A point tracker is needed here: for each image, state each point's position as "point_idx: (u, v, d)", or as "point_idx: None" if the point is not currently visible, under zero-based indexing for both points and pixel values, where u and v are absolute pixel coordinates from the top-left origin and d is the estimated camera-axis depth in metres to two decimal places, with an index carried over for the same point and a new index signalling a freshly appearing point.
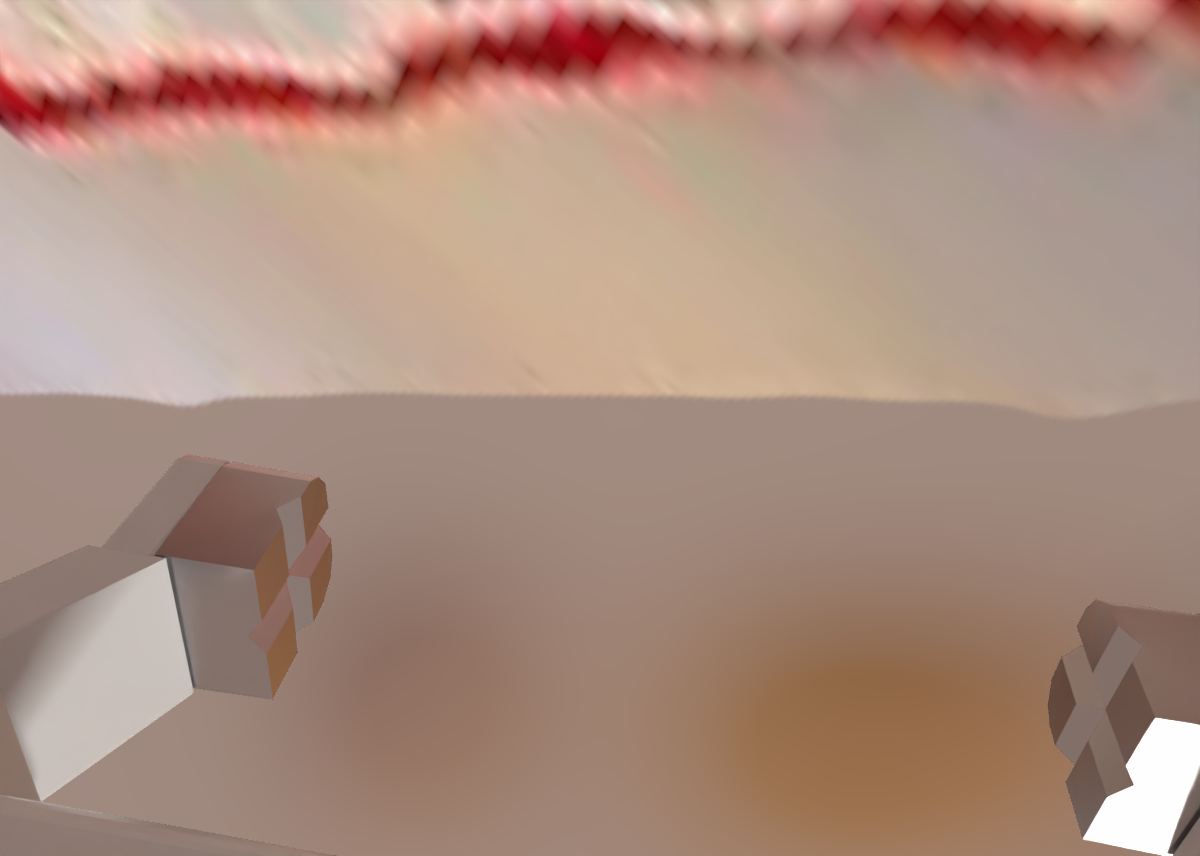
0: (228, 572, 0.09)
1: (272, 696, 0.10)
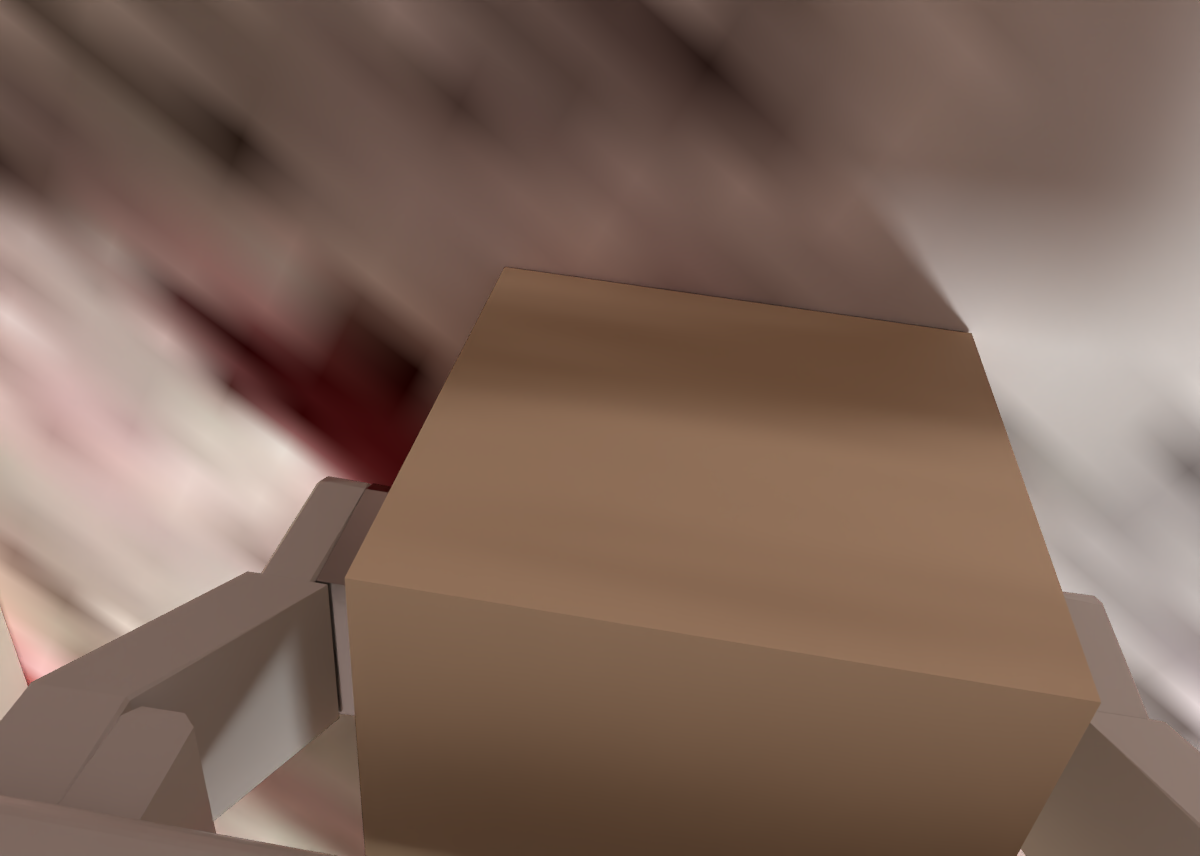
0: None
1: None
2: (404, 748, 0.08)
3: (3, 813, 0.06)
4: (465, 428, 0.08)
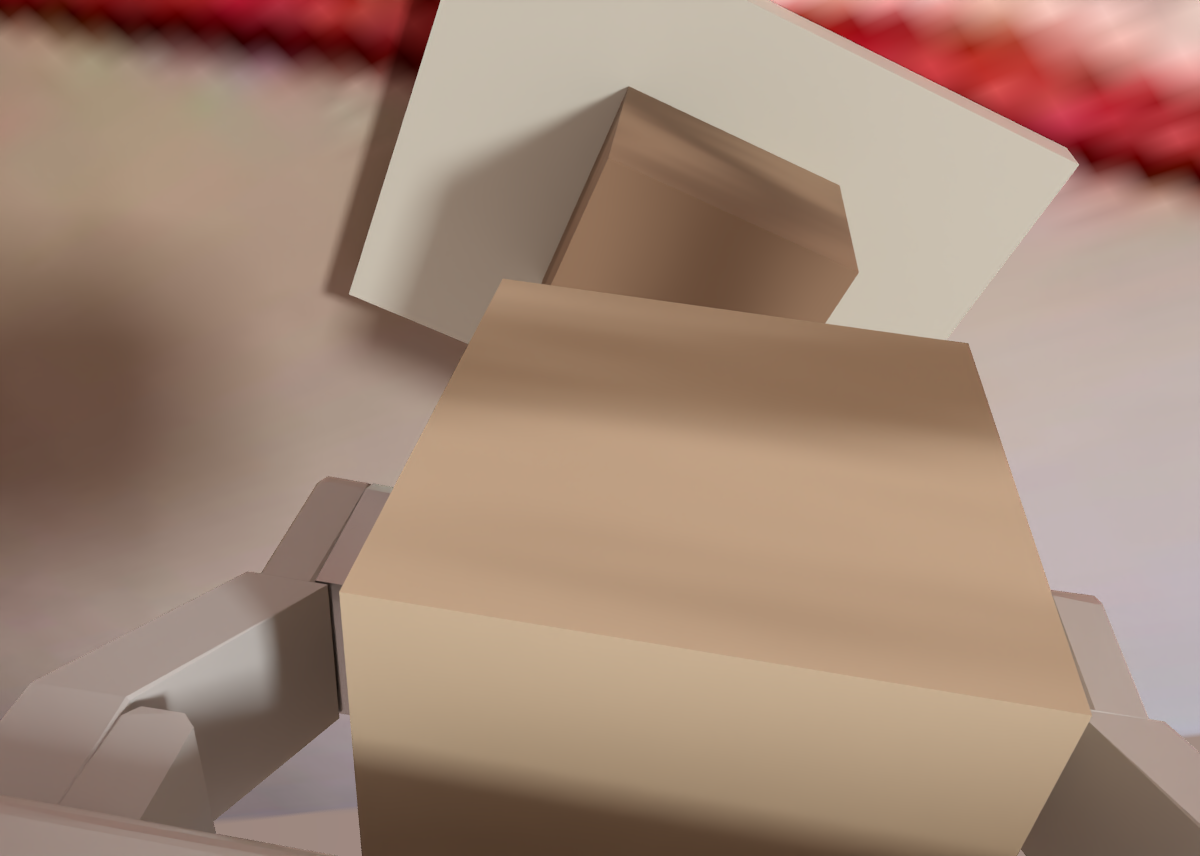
0: None
1: None
2: (400, 760, 0.08)
3: (3, 813, 0.06)
4: (460, 441, 0.08)
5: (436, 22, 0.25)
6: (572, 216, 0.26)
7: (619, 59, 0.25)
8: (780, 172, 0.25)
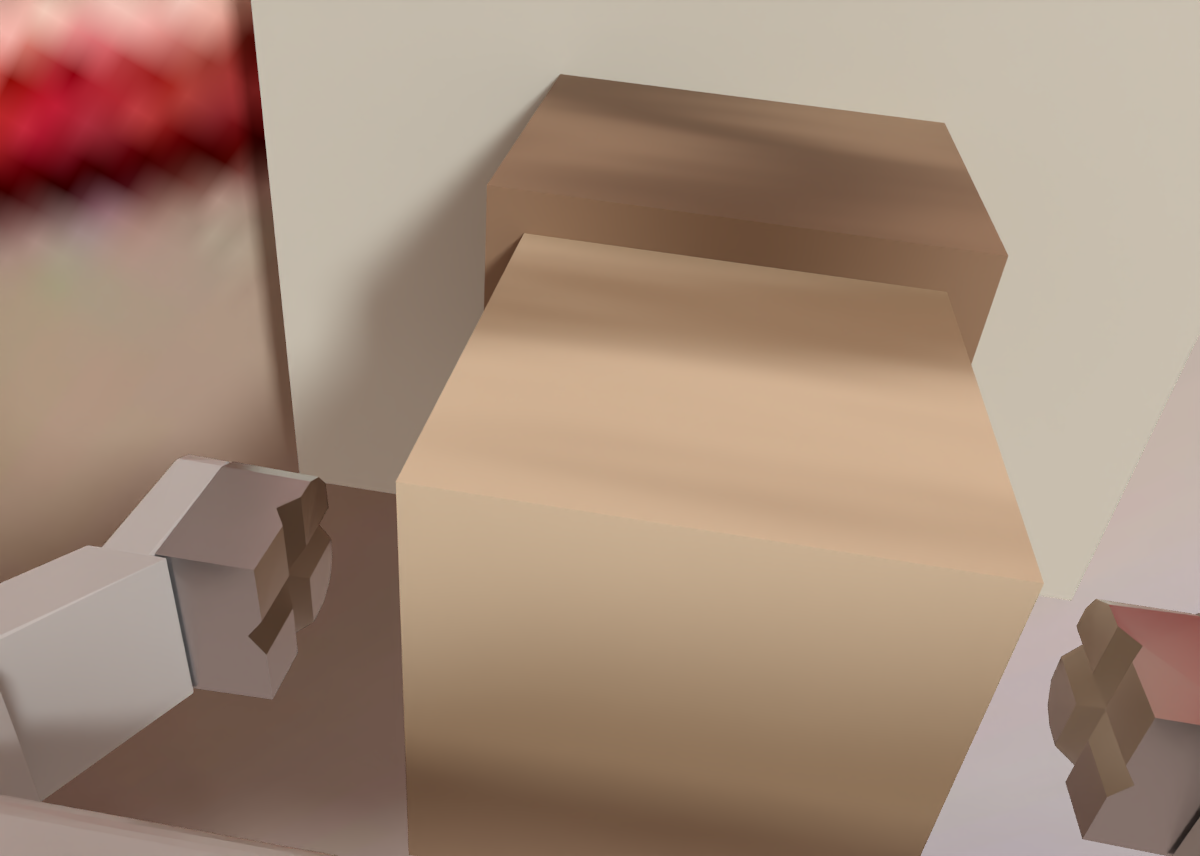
0: (228, 572, 0.09)
1: (272, 696, 0.10)
2: (442, 641, 0.09)
3: (3, 813, 0.06)
4: (493, 366, 0.09)
5: (262, 73, 0.17)
6: None
7: (531, 37, 0.16)
8: (832, 129, 0.15)
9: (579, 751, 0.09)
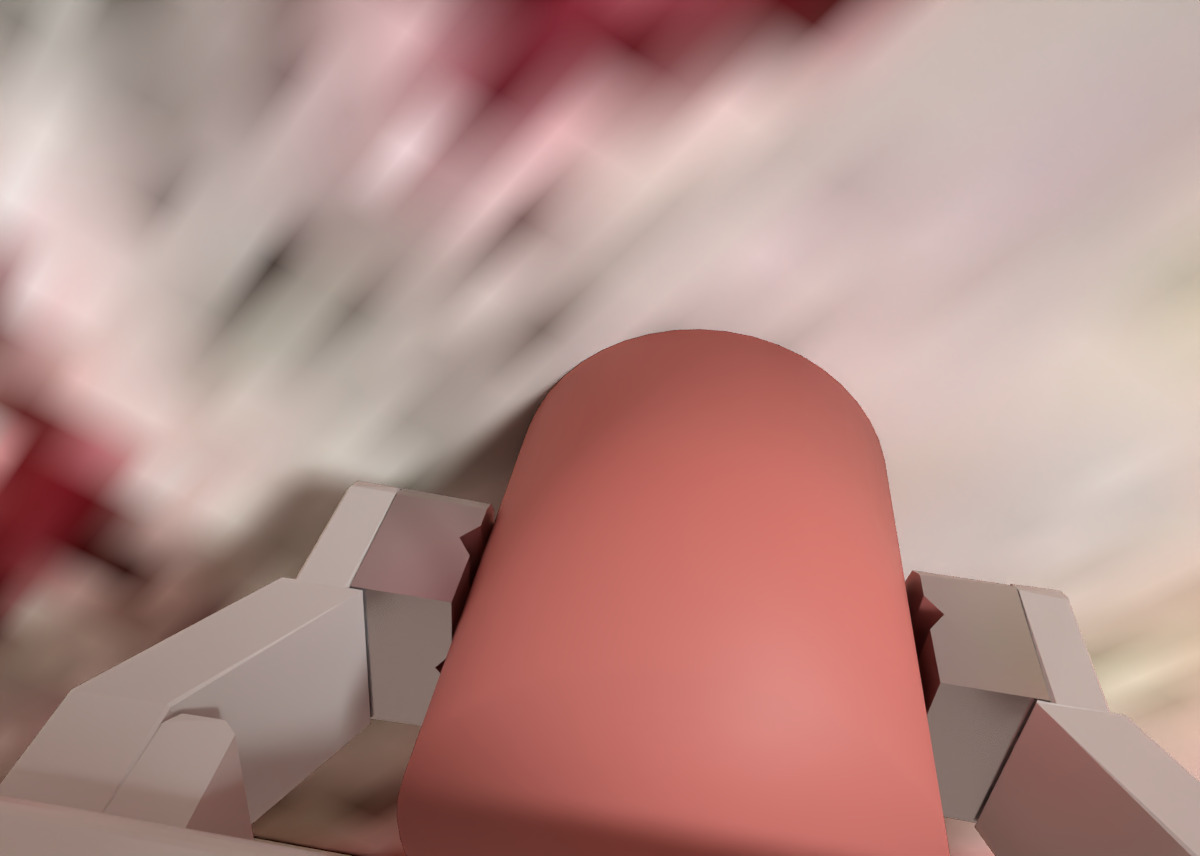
0: (423, 604, 0.09)
1: None
2: None
3: (3, 813, 0.06)
4: None
5: None
6: None
7: None
8: None
9: None
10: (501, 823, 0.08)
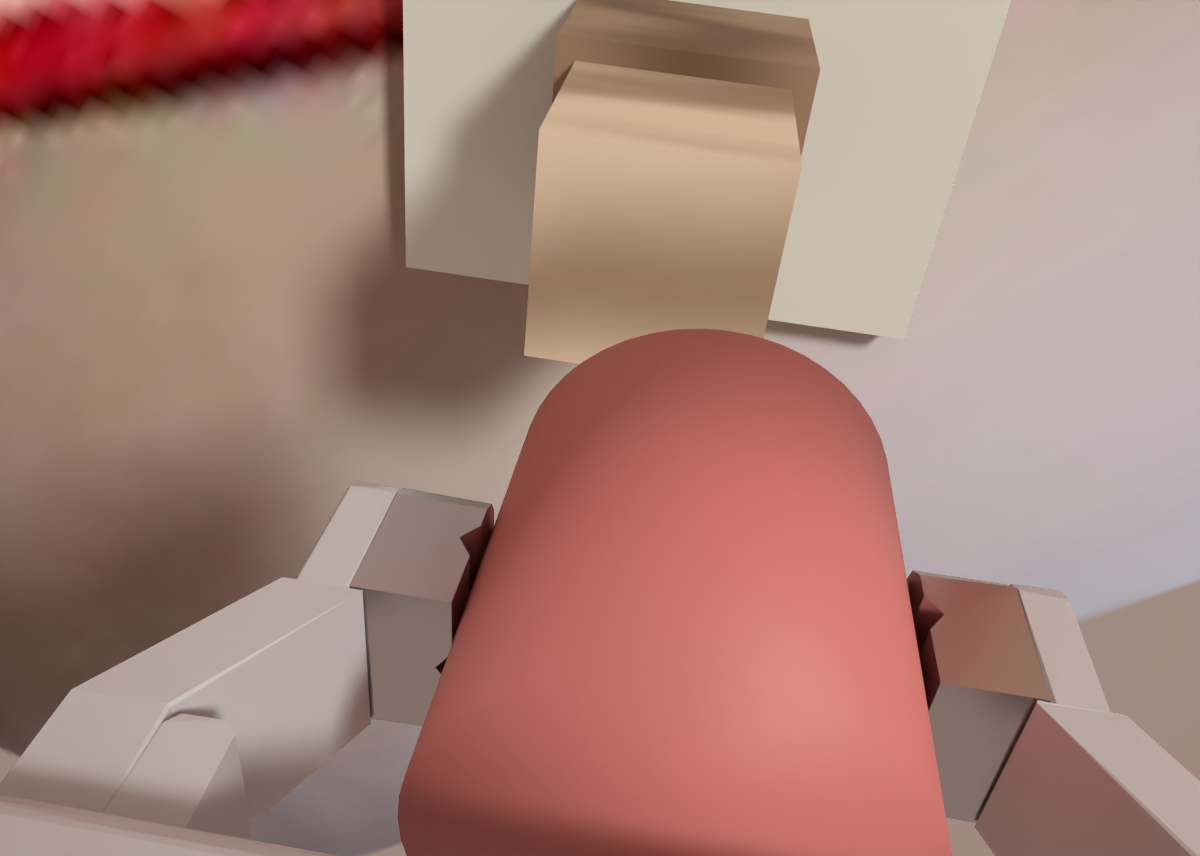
0: (423, 604, 0.09)
1: None
2: (552, 215, 0.20)
3: (3, 813, 0.06)
4: (571, 101, 0.21)
5: None
6: None
7: None
8: (742, 19, 0.26)
9: (610, 277, 0.21)
10: (503, 823, 0.08)
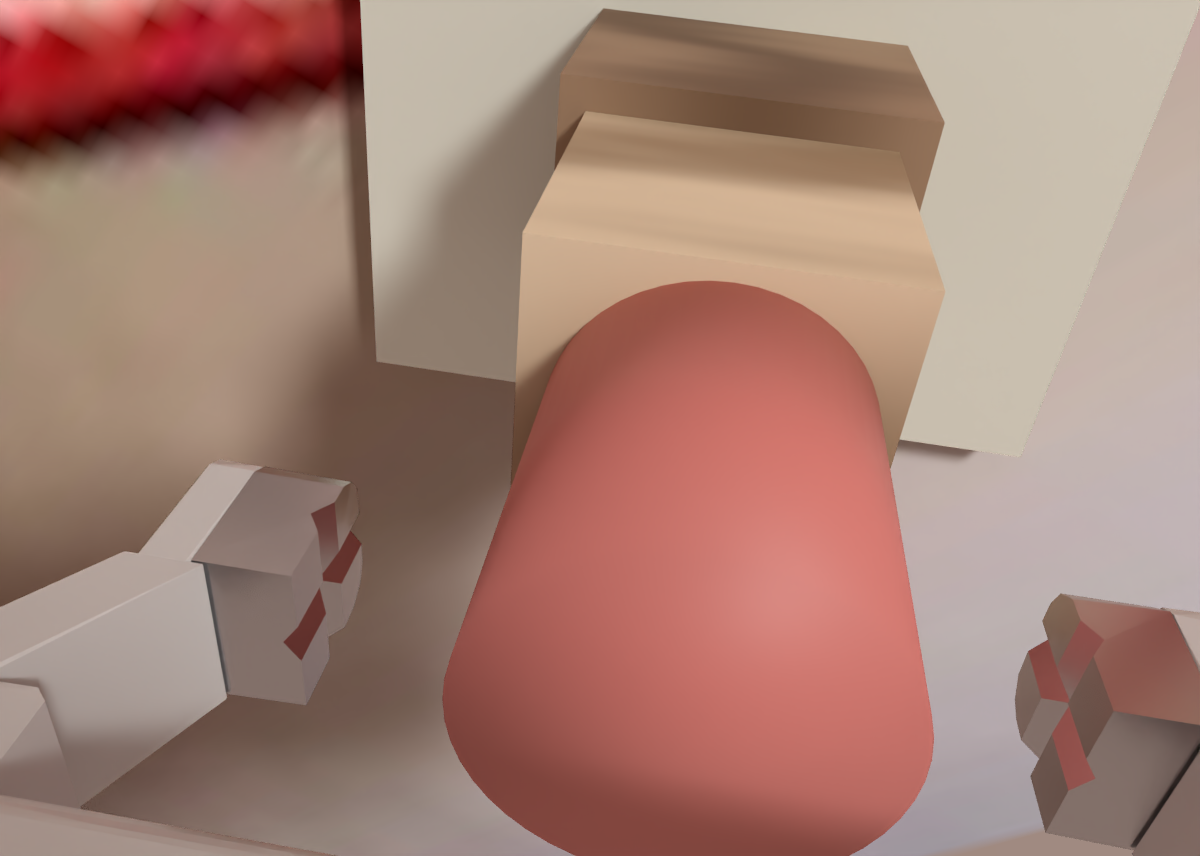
0: (265, 578, 0.09)
1: (306, 702, 0.10)
2: (545, 359, 0.13)
3: (3, 813, 0.06)
4: (577, 180, 0.14)
5: (363, 9, 0.21)
6: None
7: None
8: (819, 47, 0.19)
9: None
10: (535, 702, 0.09)
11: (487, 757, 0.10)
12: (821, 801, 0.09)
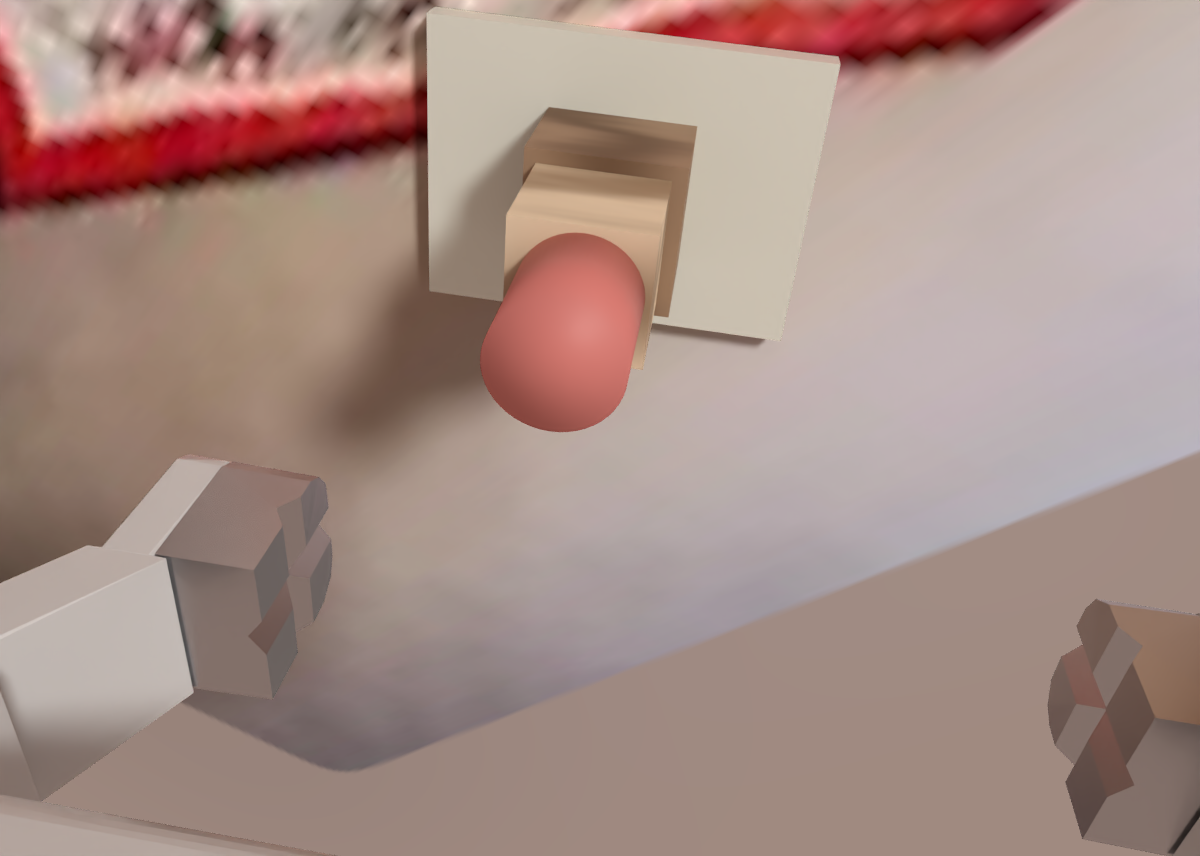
0: (228, 572, 0.09)
1: (272, 696, 0.10)
2: (515, 264, 0.33)
3: (3, 813, 0.06)
4: (528, 194, 0.34)
5: (428, 106, 0.41)
6: None
7: (537, 92, 0.40)
8: (650, 128, 0.39)
9: None
10: (509, 358, 0.30)
11: (494, 381, 0.30)
12: (598, 391, 0.30)
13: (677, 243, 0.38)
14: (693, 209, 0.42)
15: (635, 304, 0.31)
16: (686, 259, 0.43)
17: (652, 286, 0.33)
